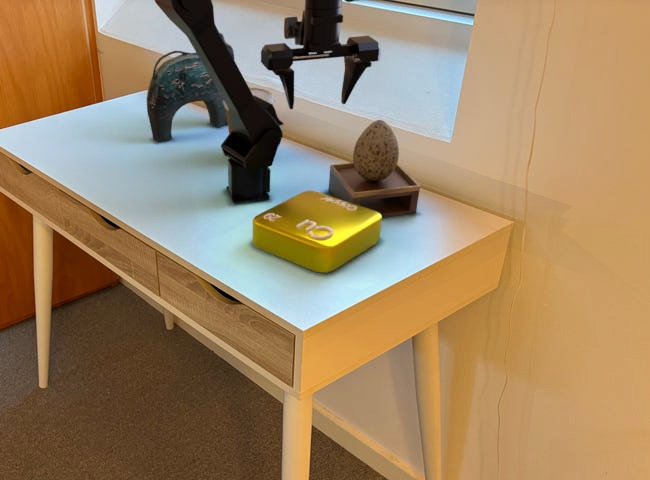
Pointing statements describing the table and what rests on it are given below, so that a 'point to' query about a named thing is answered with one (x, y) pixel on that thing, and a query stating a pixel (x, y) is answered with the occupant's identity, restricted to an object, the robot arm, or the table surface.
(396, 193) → the shallow square tray
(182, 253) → the table surface
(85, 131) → the table surface
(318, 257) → the element tile
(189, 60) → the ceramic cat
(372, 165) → the decorative egg
